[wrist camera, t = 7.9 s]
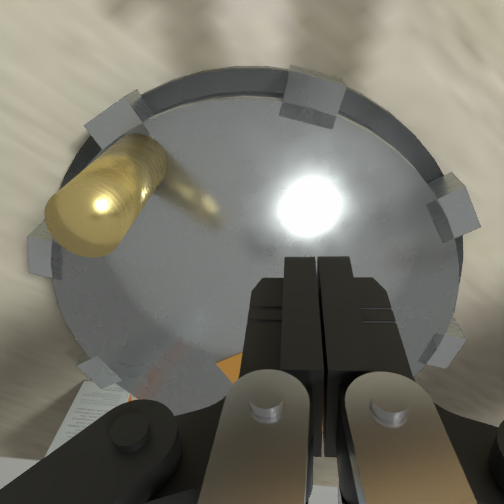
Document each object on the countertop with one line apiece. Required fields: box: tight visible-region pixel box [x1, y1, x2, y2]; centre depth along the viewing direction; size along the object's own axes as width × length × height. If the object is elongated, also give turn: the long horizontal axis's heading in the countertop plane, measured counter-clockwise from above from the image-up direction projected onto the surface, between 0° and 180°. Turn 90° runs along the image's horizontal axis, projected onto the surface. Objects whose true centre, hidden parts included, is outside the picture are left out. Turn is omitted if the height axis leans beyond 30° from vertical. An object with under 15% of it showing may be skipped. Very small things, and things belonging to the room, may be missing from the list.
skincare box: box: [44, 381, 133, 458], centre depth 31 cm, size 6×4×12 cm
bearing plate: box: [60, 66, 463, 282], centre depth 28 cm, size 26×26×1 cm
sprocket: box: [27, 65, 481, 431], centre depth 23 cm, size 27×27×9 cm
